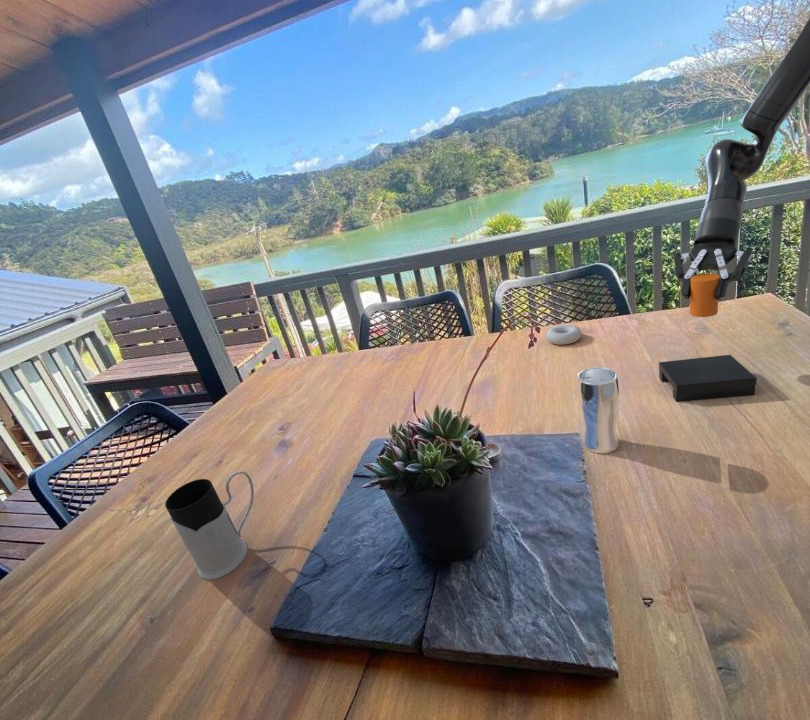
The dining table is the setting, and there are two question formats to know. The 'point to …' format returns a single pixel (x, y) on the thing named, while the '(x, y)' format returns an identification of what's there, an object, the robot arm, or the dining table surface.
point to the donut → (563, 334)
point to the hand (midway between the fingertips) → (702, 297)
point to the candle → (704, 295)
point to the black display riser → (707, 378)
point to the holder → (208, 527)
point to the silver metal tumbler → (599, 408)
